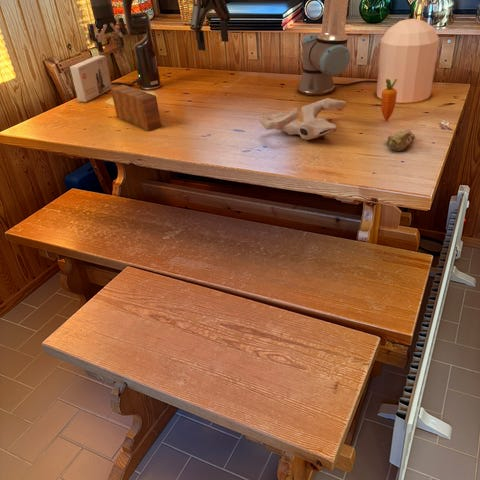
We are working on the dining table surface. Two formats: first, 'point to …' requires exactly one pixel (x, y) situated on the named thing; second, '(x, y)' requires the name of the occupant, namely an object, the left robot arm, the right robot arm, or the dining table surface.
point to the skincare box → (91, 78)
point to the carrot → (388, 99)
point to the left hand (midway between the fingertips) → (111, 49)
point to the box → (136, 107)
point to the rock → (400, 140)
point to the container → (408, 60)
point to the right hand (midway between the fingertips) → (213, 45)
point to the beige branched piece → (305, 120)
